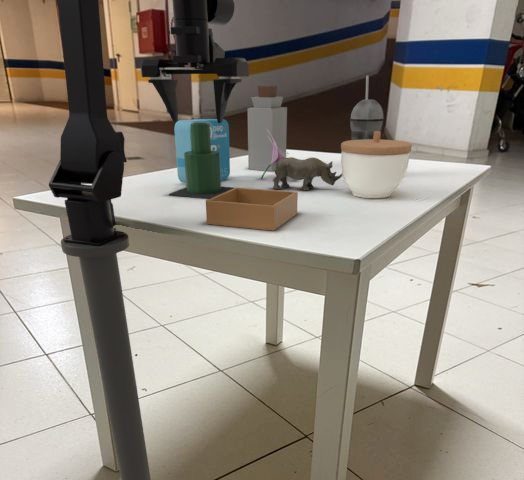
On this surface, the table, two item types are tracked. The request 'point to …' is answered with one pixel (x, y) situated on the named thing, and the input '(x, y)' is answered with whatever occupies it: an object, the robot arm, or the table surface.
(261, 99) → the perfume bottle
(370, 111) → the beverage cup
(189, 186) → the bottle
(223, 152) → the data package
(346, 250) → the table surface
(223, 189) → the mat
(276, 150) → the lily
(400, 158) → the lidded bowl
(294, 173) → the rhino figurine
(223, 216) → the carton
